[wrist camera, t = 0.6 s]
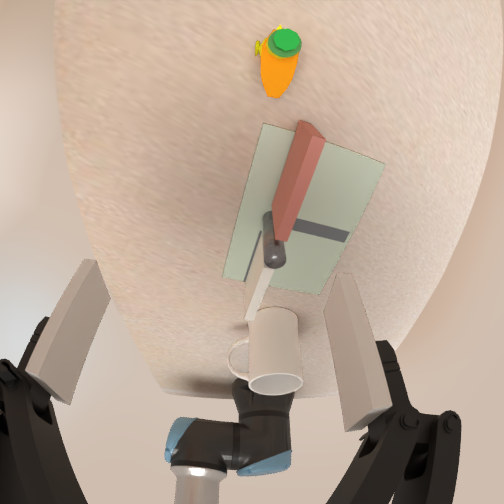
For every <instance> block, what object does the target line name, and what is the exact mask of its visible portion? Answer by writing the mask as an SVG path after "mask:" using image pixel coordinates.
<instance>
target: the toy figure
mask: <svg viewBox="0 0 504 504" xmlns="http://www.w3.org/2000/svg"><path fill="white" fill-rule="evenodd" d="M300 49H301V39H300V37H299V36H298V34H297V33H296V32H294V31H292V30H290V29H282V27H281V25H280V26H279V27H278V28H277V29H276V30H275V29H274V30H273V31H272V32H271V34H270V35H269V36H268V38H265V39H264V41H263V42H262V44H261V45H260V41H256V45H255V56H257V54H258V52H259V54H260V57H261V78H262V83H263V86H264V89H265V91H266V94H267V96H268V97H274V98H279V97H280V96H281V95H282V94H283V93H284V92H285V90H286V89H287V88H288V86H289V84H290V82H291V81H292V78H293V75H294V72H295V68H296V65H297V61H298V55H299V51H300Z"/></svg>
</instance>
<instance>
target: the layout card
mask: <svg viewBox="0 0 504 504" xmlns="http://www.w3.org/2000/svg"><path fill="white" fill-rule="evenodd" d="M294 135H295V132H294V131H290V130H287V129H283V128H280V127H276V126H272V125H269V124H265V123H263V127H262V130H261V134H260V137H259V141H258V144H257V148H256V151H255V155H254V158H253V162H252V165H251V169H250V173H249V176H248V180H247V184H246V187H245V191H244V195H243V198H242V202H241V206H240V210H239V213H238V217H237V221H236V225H235V228H234V232H233V236H232V240H231V244H230V248H229V252H228V256H227V259H226V263H225V267H224V271H223V275H222V277H223V278H229V279H234V280H239V281H243V282H245V281H246V278H247V275H248V272H249V269H250V266H251V263H252V260H253V257H254V254H255V251H256V248H257V245H258V242H259V239H260V236H261V233H262V231H263V223H262V217H263V215H264V214H265V213H266V212H268V211H272V206H271V205H272V202H273V199H274V196H275V193H276V190H277V187H278V184H279V181H280V178H281V175H282V172H283V169H284V166H285V163H286V159H287V156H288V153H289V150H290V147H291V144H292V141H293V138H294ZM384 167H385V164H384V163H381V162H379V161H376V160H374V159H372V158H369V157H367V156H364V155H361V154H359V153H356V152H354V151H351V150H348V149H346V148H343V147H340V146H337V145H334V144H331V143H329V142H325V144H324V147H323V150H322V153H321V155H320V158H319V161H318V163H317V166H316V169H315V171H314V174H313V177H312V179H311V182H310V185H309V187H308V190H307V192H306V195H305V198H304V200H303V203H302V205H301V208H300V211H299V213H298V216H297V218H296V221H295V223H294V226H293V228H292V231H291V233H290V236H289V238H288V241H287V242H285V241H284V245H285V252H286V263H285V265H284V266H283V267H281V268H278V269H275V270H274V272H273V275H272V277H271V280H270V282H269V285H268V286H271V287H276V288H282V289H287V290H293V291H299V292H304V293H310V294H316V295H319V294H320V292H321V290H322V288H323V287H324V285H325V283H326V282H327V280H328V278H329V276H330V274H331V273H332V271H333V269H334V267H335V265H336V264H337V262H338V260H339V258H340V256H341V255H342V253H343V251H344V249H345V247H346V245H347V243H348V241H349V239H350V238H351V236H352V234H353V232H354V230H355V228H356V226H357V224H358V222H359V220H360V218H361V216H362V214H363V212H364V210H365V208H366V206H367V204H368V202H369V200H370V198H371V195H372V193H373V191H374V189H375V187H376V185H377V183H378V180H379V178H380V176H381V174H382V172H383V169H384Z"/></svg>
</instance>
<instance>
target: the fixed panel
mask: <svg viewBox="0 0 504 504" xmlns="http://www.w3.org/2000/svg"><path fill="white" fill-rule="evenodd" d="M274 270H275V269H272V268H269V267H267V266H266V265H265V263H264V246H263V231H262V233H261V236H260V239H259V242H258V245H257V248H256V251H255V254H254V257H253V260H252V263H251V266H250V269H249V272H248V275H247V278H246V281H245V305H244V320H249V321H253V320H254V318H255V316H256V313H257V311H258V309H259V306H260V304H261V301H262V299H263V297H264V294H265V292H266V289H267V287H268V285H269V282H270V280H271V277H272V275H273V272H274Z"/></svg>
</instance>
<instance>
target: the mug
mask: <svg viewBox="0 0 504 504" xmlns="http://www.w3.org/2000/svg"><path fill="white" fill-rule="evenodd" d="M248 327H249V336H247V337H244V338H241V339H239V340H237V341H236V342H235V343H234V344H233V345H232V346H231V347H230V348H229V350H228V353H227V365H228V367H229V369H230V371H231V372H232V373H233V374H234V375H235V376H237V377H239V378H241V379H244V380H247V381H249V388H250V389H251V390H252V391H254V392H256V393H259V394H263V395H283V394H288V393H291V392H294V391H296V390H298V389H299V388H301V387H302V385H303V383H304V381H303V371H302V362H301V353H300V345H299V336H298V318H297V316H296V315H295V314H294V313H293V312H292V311H290V310H288V309H285V308H280V307H269V308H264V309H261V310H259V311H257V313H256V316H255V318H254V320H253V321H248ZM243 343H249V373H241V372H239V371H237V370H235V369H234V368H233V367H232V365H231V363H230V355H231V352H232V351H233V350H234V349H235V348H236V347H237V346H238V345H240V344H243Z"/></svg>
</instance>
